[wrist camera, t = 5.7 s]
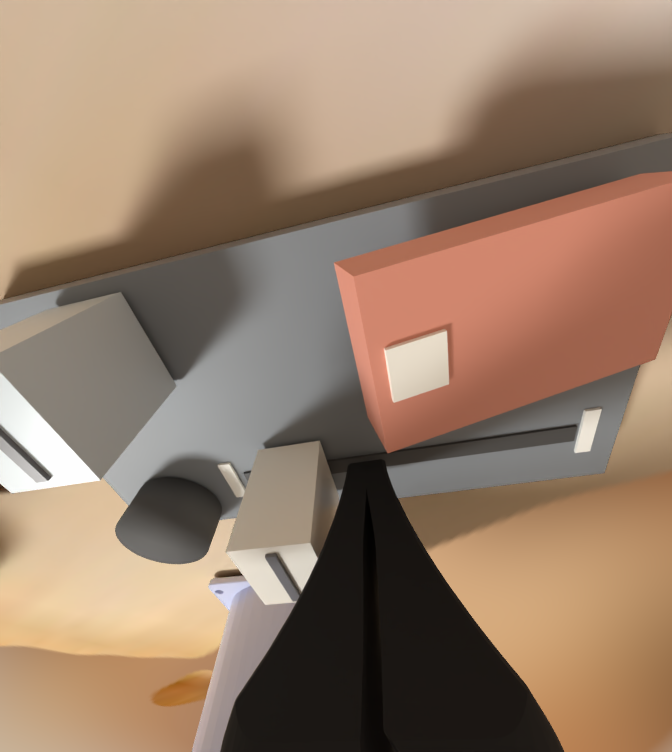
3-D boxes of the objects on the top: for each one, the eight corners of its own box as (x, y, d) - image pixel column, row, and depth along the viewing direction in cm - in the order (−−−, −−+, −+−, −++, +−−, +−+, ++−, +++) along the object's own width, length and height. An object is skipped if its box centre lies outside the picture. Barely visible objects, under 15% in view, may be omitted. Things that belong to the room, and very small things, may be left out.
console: (579, 445, 14) (621, 492, 12) (164, 501, 16) (138, 546, 14) (659, 134, 8) (768, 118, 6) (1, 299, 11) (-80, 327, 9)
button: (234, 523, 14) (223, 559, 13) (164, 532, 15) (146, 567, 14) (200, 472, 13) (182, 507, 11) (121, 483, 13) (95, 518, 12)
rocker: (600, 338, 9) (660, 361, 8) (367, 417, 8) (389, 456, 7) (640, 173, 7) (731, 166, 5) (333, 262, 6) (355, 277, 5)
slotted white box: (176, 386, 10) (97, 483, 7) (112, 398, 11) (7, 496, 7) (120, 291, 9) (-18, 361, 5) (47, 309, 9) (-128, 385, 6)
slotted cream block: (338, 495, 13) (336, 602, 10) (283, 502, 13) (264, 608, 10) (319, 440, 11) (310, 546, 8) (258, 449, 12) (224, 555, 8)
